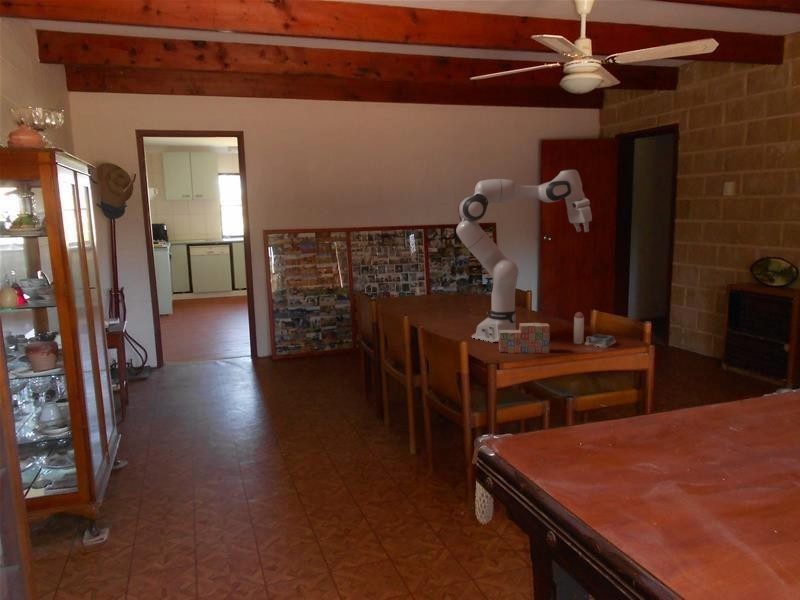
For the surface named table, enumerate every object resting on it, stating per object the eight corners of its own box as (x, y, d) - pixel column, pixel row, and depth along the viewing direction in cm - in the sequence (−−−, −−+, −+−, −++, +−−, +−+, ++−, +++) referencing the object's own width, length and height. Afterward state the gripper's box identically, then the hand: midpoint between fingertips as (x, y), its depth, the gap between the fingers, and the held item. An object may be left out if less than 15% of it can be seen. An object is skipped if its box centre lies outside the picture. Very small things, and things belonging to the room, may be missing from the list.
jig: (584, 344, 271) (585, 337, 270) (594, 339, 280) (594, 332, 279) (607, 347, 264) (607, 339, 264) (615, 342, 274) (616, 334, 273)
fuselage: (572, 343, 275) (572, 312, 272) (575, 341, 278) (576, 310, 276) (581, 344, 272) (582, 313, 270) (584, 342, 275) (585, 311, 273)
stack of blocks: (499, 353, 260) (499, 326, 258) (498, 349, 266) (498, 323, 264) (549, 353, 258) (549, 325, 256) (547, 349, 264) (547, 322, 262)
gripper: (562, 205, 287) (568, 233, 289) (577, 204, 267) (584, 233, 269) (574, 202, 288) (581, 229, 289) (591, 200, 267) (598, 229, 269)
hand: (583, 231), depth 279 cm, fingers open, 8 cm apart
